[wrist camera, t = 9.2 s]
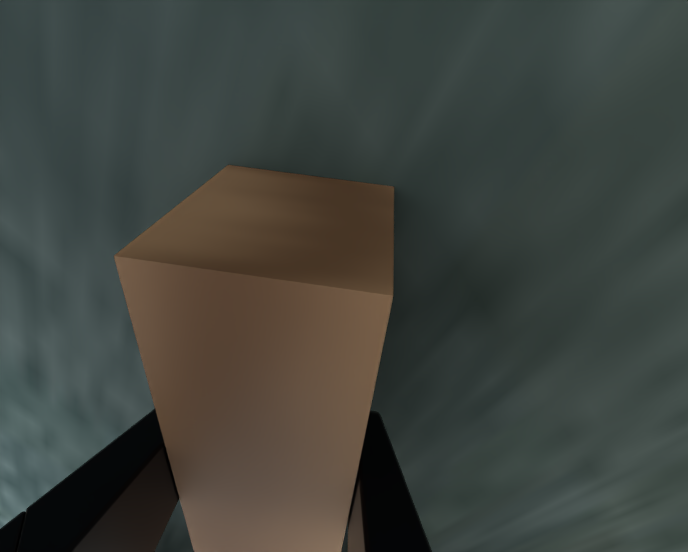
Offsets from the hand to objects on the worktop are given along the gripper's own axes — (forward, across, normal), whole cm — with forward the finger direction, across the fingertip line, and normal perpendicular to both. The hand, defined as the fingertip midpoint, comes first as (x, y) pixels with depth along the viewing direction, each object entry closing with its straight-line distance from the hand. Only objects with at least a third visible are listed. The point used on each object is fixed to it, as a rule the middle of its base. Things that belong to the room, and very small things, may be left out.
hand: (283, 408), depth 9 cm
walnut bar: (+2, 0, +7) cm, 8 cm away
